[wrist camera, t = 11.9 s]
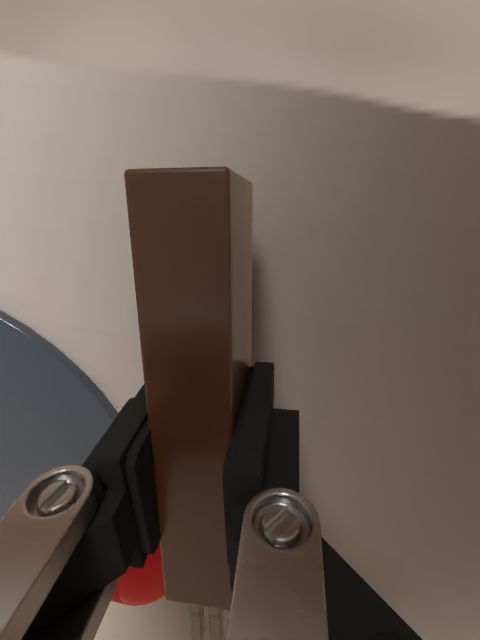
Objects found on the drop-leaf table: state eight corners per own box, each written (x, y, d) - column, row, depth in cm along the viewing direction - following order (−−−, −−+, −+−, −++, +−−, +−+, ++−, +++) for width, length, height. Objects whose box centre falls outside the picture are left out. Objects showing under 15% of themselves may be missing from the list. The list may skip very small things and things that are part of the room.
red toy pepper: (85, 463, 16) (19, 528, 13) (210, 487, 14) (174, 567, 11) (94, 526, 17) (36, 602, 14) (212, 554, 15) (179, 646, 12)
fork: (194, 628, 14) (166, 745, 11) (166, 183, 9) (99, 169, 6) (260, 639, 13) (250, 765, 10) (269, 181, 8) (254, 165, 5)
